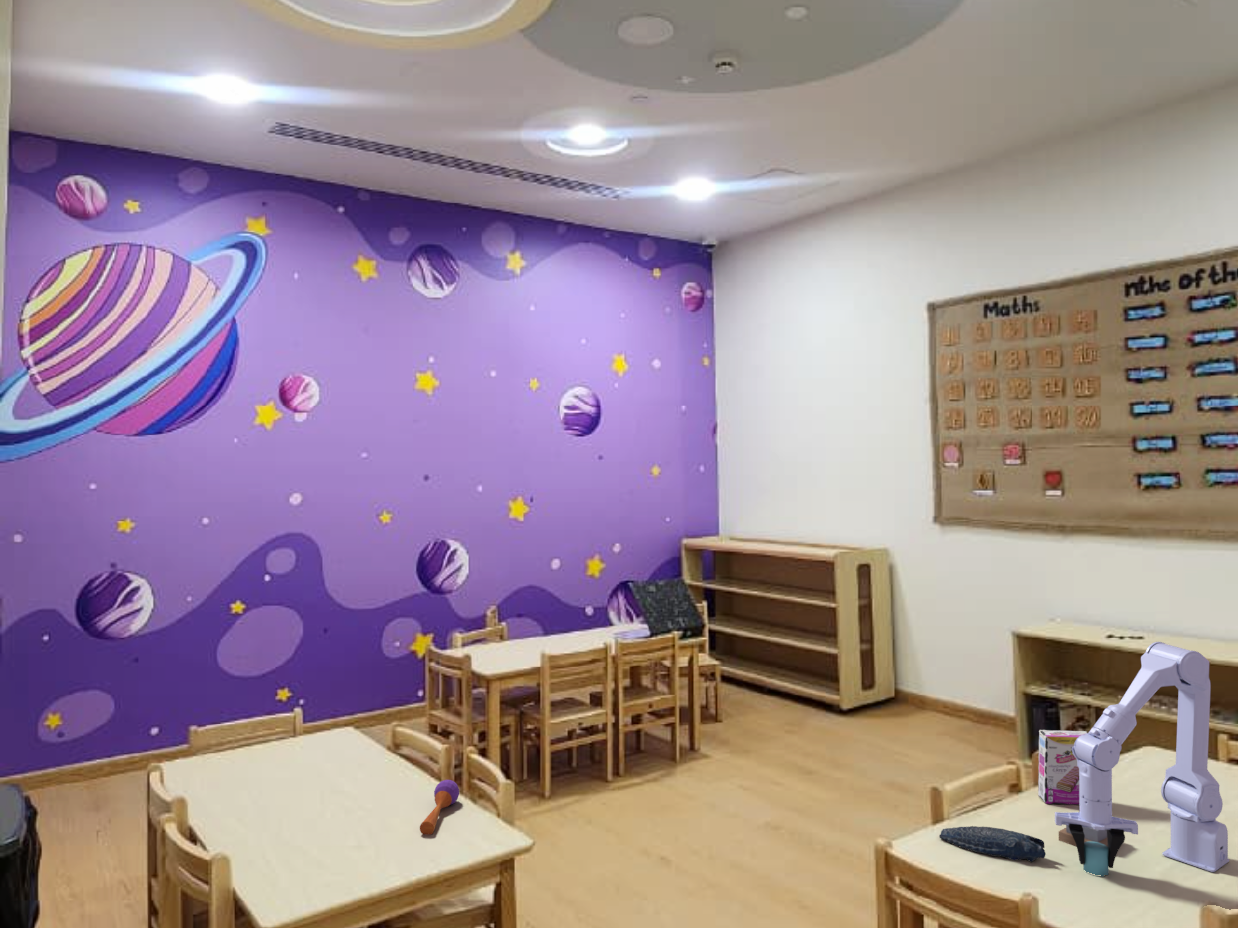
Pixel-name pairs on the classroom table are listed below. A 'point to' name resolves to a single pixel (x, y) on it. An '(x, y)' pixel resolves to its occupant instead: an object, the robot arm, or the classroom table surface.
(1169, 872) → the classroom table surface
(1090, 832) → the purplish gray square slab
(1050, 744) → the candy bar box
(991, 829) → the fish model
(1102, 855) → the teal cylinder
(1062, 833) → the walnut base slab
